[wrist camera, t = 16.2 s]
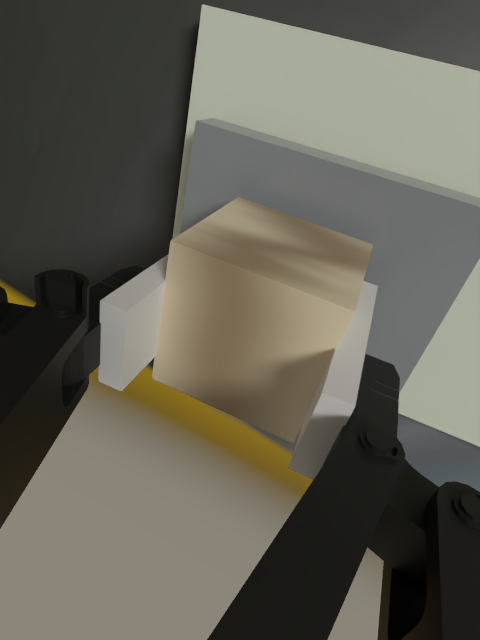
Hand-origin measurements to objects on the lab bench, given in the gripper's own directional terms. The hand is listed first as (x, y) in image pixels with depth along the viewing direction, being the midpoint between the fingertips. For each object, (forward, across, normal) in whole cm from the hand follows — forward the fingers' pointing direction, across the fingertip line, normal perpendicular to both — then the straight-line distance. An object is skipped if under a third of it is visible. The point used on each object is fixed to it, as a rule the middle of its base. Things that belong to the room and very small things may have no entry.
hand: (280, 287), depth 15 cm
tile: (+2, -6, 0) cm, 6 cm away
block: (0, 0, 0) cm, 0 cm away
